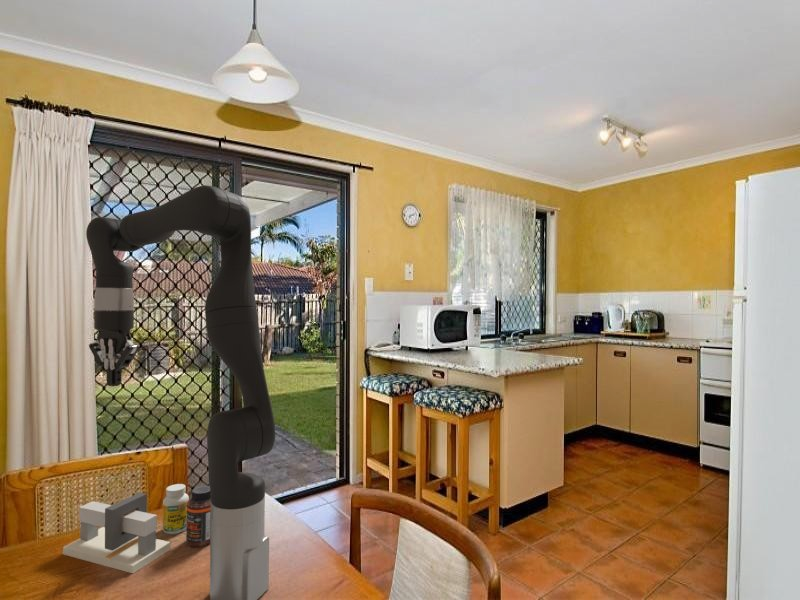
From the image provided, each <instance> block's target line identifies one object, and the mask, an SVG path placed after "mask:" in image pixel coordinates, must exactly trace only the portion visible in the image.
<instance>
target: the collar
mask: <svg viewBox="0 0 800 600" xmlns="http://www.w3.org/2000/svg"><path fill="white" fill-rule="evenodd" d="M147 495H148V494H147V493H144V492H138V493H136V494H132V495H131V496H128V497H127V498H125V499H123V500H120V501H118V502H116V503H114V504H111V505H112V506H110V507H107V508H105V549H108V550H114V549H116V548H118V547H120V546H121V545H123V544H125V543H127V542H128V541H130V540H132V539H134V538H135V537H137V536H138V535H135V534H131V533H126V532H121V531H122V515H124V514H126V513H128V512H130V511H132V510H134V509H136V511H141V512H145V513H148V512H147V511H148V510H147V509H148V506H147V505H148V503H147V501H148V496H147Z"/></svg>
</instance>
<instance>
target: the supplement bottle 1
mask: <svg viewBox="0 0 800 600" xmlns="http://www.w3.org/2000/svg"><path fill="white" fill-rule="evenodd" d="M186 491H187V490H186V485H185V484H183V483H175V484H172V485H169V486H167V487H166V489H165V497H164V499H163V501H162V531H163V532H164V533H165V534H167V535H176V534H180V533H183V532H184V531H186V529H187V503H188V501H189V500H190V499H189V498H190V497H189V494H187V493H186Z"/></svg>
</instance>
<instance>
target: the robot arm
mask: <svg viewBox="0 0 800 600" xmlns="http://www.w3.org/2000/svg"><path fill="white" fill-rule="evenodd" d="M251 222H252V221H251V212H250V207H249V205H248V202H247V201H246V200H245V199H244V197H242V196H240V195H238V194H237V193H233V192H230V191H228V190H225V189H222V188H219V187H218V186H214V185H208V184H205V185H199V186H197V187H193V188H191V189H189V190H188V191H186V192H184V193H182V194H180V195H178V196H176V197H174V198H172V199H171V200H169V201H167V202H165V203H163V204H161V205H158V206H156V207H153V208H150V209H146V210H141V211H137V212H132V213H130V214H128V215H126V216H124V217H123V218H122V219H117V218H111V217H104V216H97V217H93V218H92V220H90V221H89V223H88V225H87V226H86V227H87V228H86V231H85V234H86V235H85V236H86V240H87V244H88V248H89V250H90V254H91V257H92V260H93V264H94V268H95V293H94V301H93V305H94V308H93V309H94V310H93V311H94V312H93V313H94V314H93V325H94V326H93V328H94V330H97V331H98V332H97V336H96V339H97V340H95V342H91V343H89V344H88V347H89V349H90V351H91V353H92V355H93V356H94V359H95V360H96V362H97V365H98V366H99V367H103V368H104V370H106V375H105V376H106V378H105V379H106V385H107V387H114V388H115V387H117V386H118V387H119V386H121V384H122V380H123V379H122V372H123V371H122V370H123V368H125V367H129V366H130V364H131V363H132V362H133V359H134V358H135V356H136V355H137V354H138V353H139V350H140V347H141V346H140V344H135V343H133V341H132V334H131V330H133V329H134V326H135V325H134V319H135V317H134V314H135V313H134V312H135V299H134V298H135V297H134V290H133V286H134V285H133V284H134V283H133V282H134V281H133V279H134V278H133V273H134V272H133V267H132V265H131V264H130V263H128V262H126V261H122V260H120V259H118V258H117V256H116V255H115V253H114V252H117V251H118V252H125V253H126V252H129V253H130V252H135V251H139V250H140V249H142V248H143V247H145V246H149V245H154V244H160V243H162V242H165V241H167V240H169V239H170V238H172V236H173V235H174V234H175V232H177V231H178V232H179V231H193V232H198V233H199V234H202V235H207V236H210V237H215V238H218V241H219V248H220V265H219V269H218V272H217V275H216V277H215V279H214V280H213V283H212V285H211V287H210V289H209V291H208V293H207V295H206V296H207V297H206V300H205V303H204V313H205V325H206V332H207V333H206V335H207V339H208V341H209V345H211V347H212V349H213V351H215V353H216V354H217V356H218V357H219V358H220V359H221V361H222V362H223V364H225V366H226V367H227V368H228V369H229V371H230V372H231V373H232V374H233V376H234V378H235V380H236V382H237V384H238V385H239V389H240V394H241V397H242V401H243V407H237V408H233V409H228V410H222V411H218V412H215V413H214V414H213V415H212V416H210V419H209V421H208V425H207V430H206V431H207V432H206V444H207V446H206V447H207V448H206V449H207V463H208V465H207V467H208V473H207V474H208V484H209V485H208V486H210V492H211V519H210V543H209V544H210V545H209V549H210V550H209V600H258V599H259V598H260V597H261V596H263V594H265V593H266V592H267V590H268V589H270V588H269V587H270V537H269V536H267V535H265V532H266V531H265V528H266V527H265V525H266V524H265V523H266V522H265V516H266V515H265V513H266V511H265V509H266V508H265V507H266V505H265V504H266V496H265V495H266V482H265V480H264V479H263V477H262V476H260V475H258V474H254V473H250V472H245V471H243V472H241V471H239V465H238V464H239V462H243V461H246V460H250V459H254V458H258V457H261V456H265V455H267V454H269V453H270V452H271V451H272V450H273V448H274V445H275V442H276V424H275V418H274V413H273V407H272V403H271V398H270V394H269V388H268V385H267V380H266V379H267V378H266V375H265V374H266V373H265V369H264V368H265V367H264V360H263V353H262V345H261V344H262V343H261V337H260V336H261V335H260V324H259V323H260V322H259V316H258V315H259V314H258V308H257V307H258V306H257V301H256V295H255V286H254V274H253V273H254V272H253V265H252V264H253V261H252V259H253V258H252V223H251Z"/></svg>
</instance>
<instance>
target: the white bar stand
mask: <svg viewBox="0 0 800 600" xmlns="http://www.w3.org/2000/svg"><path fill="white" fill-rule="evenodd" d="M112 505H113V504H108V503H104V502H98V501H93V500H92V501H90V502H88V503H86V504H83V505H81V506H79V508H78V510H79V511H78V513H79V515H78V518H79V519H78V521H79V523H80V538H78V539H76V540H75V541H72V542H70V543H68V544H67V545H64V546H63V547H62V554H63V555H64V556H68V557H72V558H75V559H79V560H82V561H85V562H90V563H93V564H97V565H100V566H105V567H107V568H112V569H116V570H120V571H123V572H127V573H130V574H135V573H136V572H138V571H139V570H141V569H143V568H144V567H146V566H147V565H148V564H150V563H152V562H153V561H155V560H156V559H158V558H160V557H161V556H162V555H164V554H166V553H167V552H168V551H170V550H171V541H167V540H164V539H158V538H157V530H158V514H155V513H154V514H153V513H150V512H147V513H145V512H141V511H136V509H134V510H132V511H130V512H128V513H126V514H124V515H122V531H121V532H126V533H131V534H135V535H138V536H137V537H135V538H134V539H132V540H130V541H128V542H127V543H125V544H123V545H121V546H120V547H118V548H116V549H114V550H108V549H105V508H107V507H110V506H112Z"/></svg>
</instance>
